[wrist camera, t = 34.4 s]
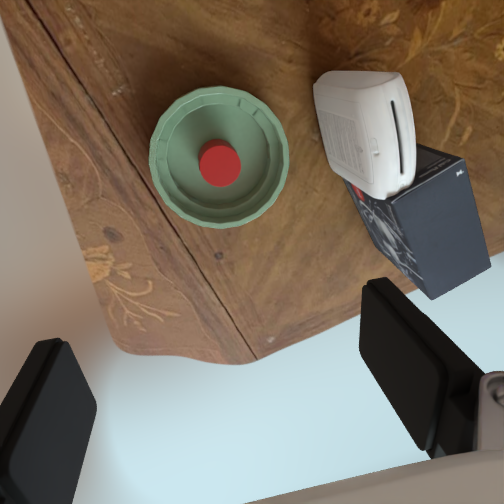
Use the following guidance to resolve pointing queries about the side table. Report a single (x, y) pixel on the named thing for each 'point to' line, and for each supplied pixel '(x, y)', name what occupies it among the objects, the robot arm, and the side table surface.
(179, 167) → the dish
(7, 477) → the robot arm
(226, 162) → the cap
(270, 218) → the side table surface
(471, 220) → the small box
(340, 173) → the photo printer
